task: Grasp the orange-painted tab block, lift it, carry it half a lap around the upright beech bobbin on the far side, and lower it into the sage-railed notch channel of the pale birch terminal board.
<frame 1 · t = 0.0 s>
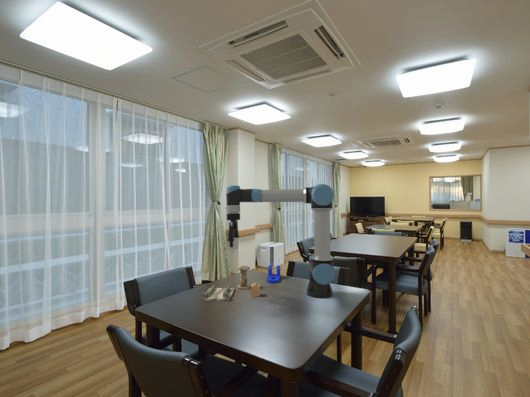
hand: (233, 250, 159), 28 cm above the table, fingers open, 13 cm apart
terminal board: (219, 294, 170), on the table
tab: (255, 295, 169), on the table
bracket: (273, 280, 202), on the table
bobbin: (243, 287, 184), on the table
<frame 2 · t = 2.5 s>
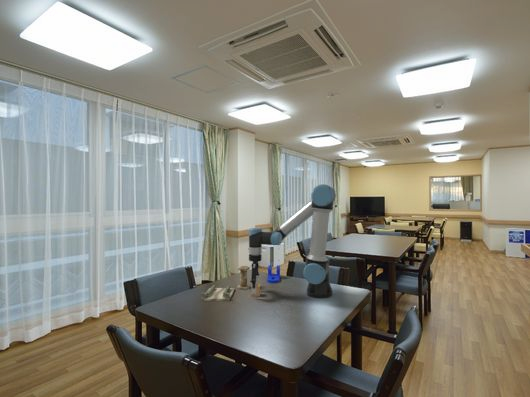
hand: (254, 289, 169), 3 cm above the table, fingers open, 13 cm apart
nothing on the table moved.
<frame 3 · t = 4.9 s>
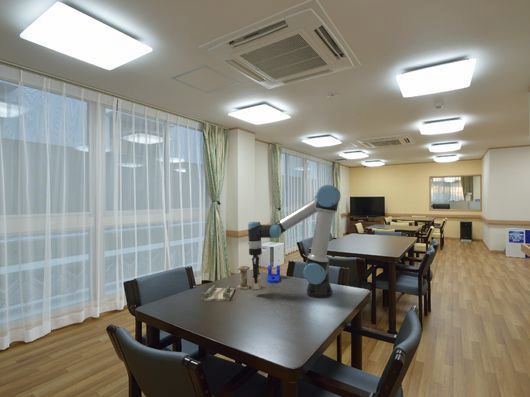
hand: (256, 287, 168), 5 cm above the table, fingers closed on tab, 5 cm apart
tab: (256, 287, 168), point 4 cm above the table, touching gripper
everything else where it was.
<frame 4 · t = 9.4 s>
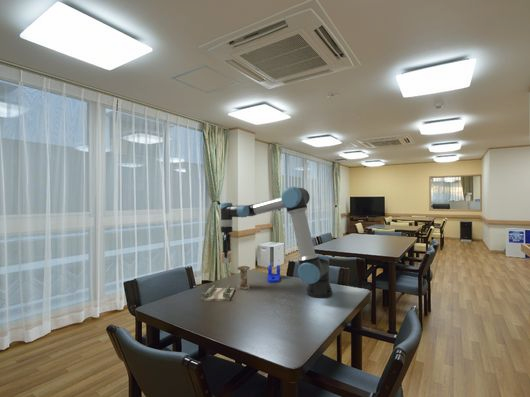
hand: (227, 261, 186), 17 cm above the table, fingers closed on tab, 5 cm apart
tab: (226, 262, 186), point 16 cm above the table, touching gripper
everything else where it was.
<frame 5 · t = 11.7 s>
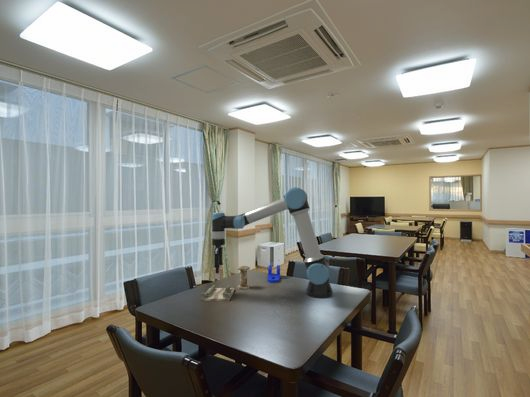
hand: (218, 277, 170), 11 cm above the table, fingers closed on tab, 5 cm apart
tab: (218, 277, 170), point 10 cm above the table, touching gripper
everything else where it was.
when the fingers open (2 cm above the table, at t = 13.9 s): tab stays where it is, resting on terminal board.
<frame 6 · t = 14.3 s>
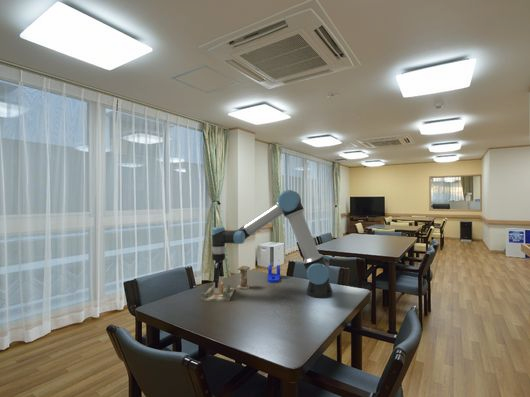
hand: (218, 290, 170), 3 cm above the table, fingers open, 10 cm apart
tab: (218, 292, 170), point 1 cm above the table, touching terminal board
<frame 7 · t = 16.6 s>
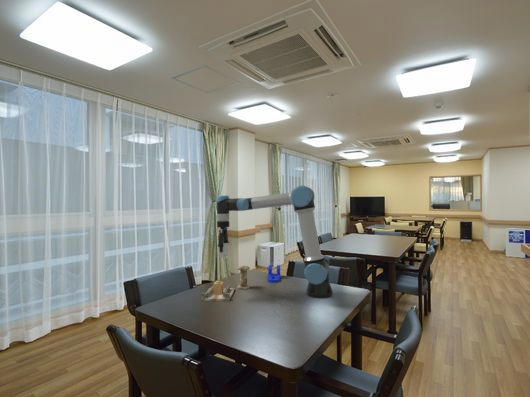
hand: (223, 255, 173), 23 cm above the table, fingers open, 13 cm apart
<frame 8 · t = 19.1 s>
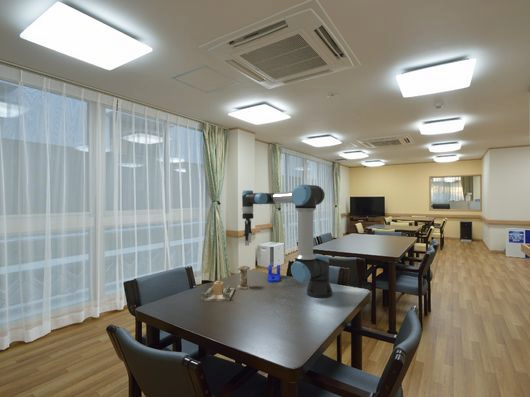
hand: (248, 244, 194), 27 cm above the table, fingers open, 13 cm apart
at the end: tab inside the target area on the terminal board (0.3 cm from its centre), point 1.2 cm above the terminal board's base; tab tilted 0°; the gripper is holding nothing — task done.
